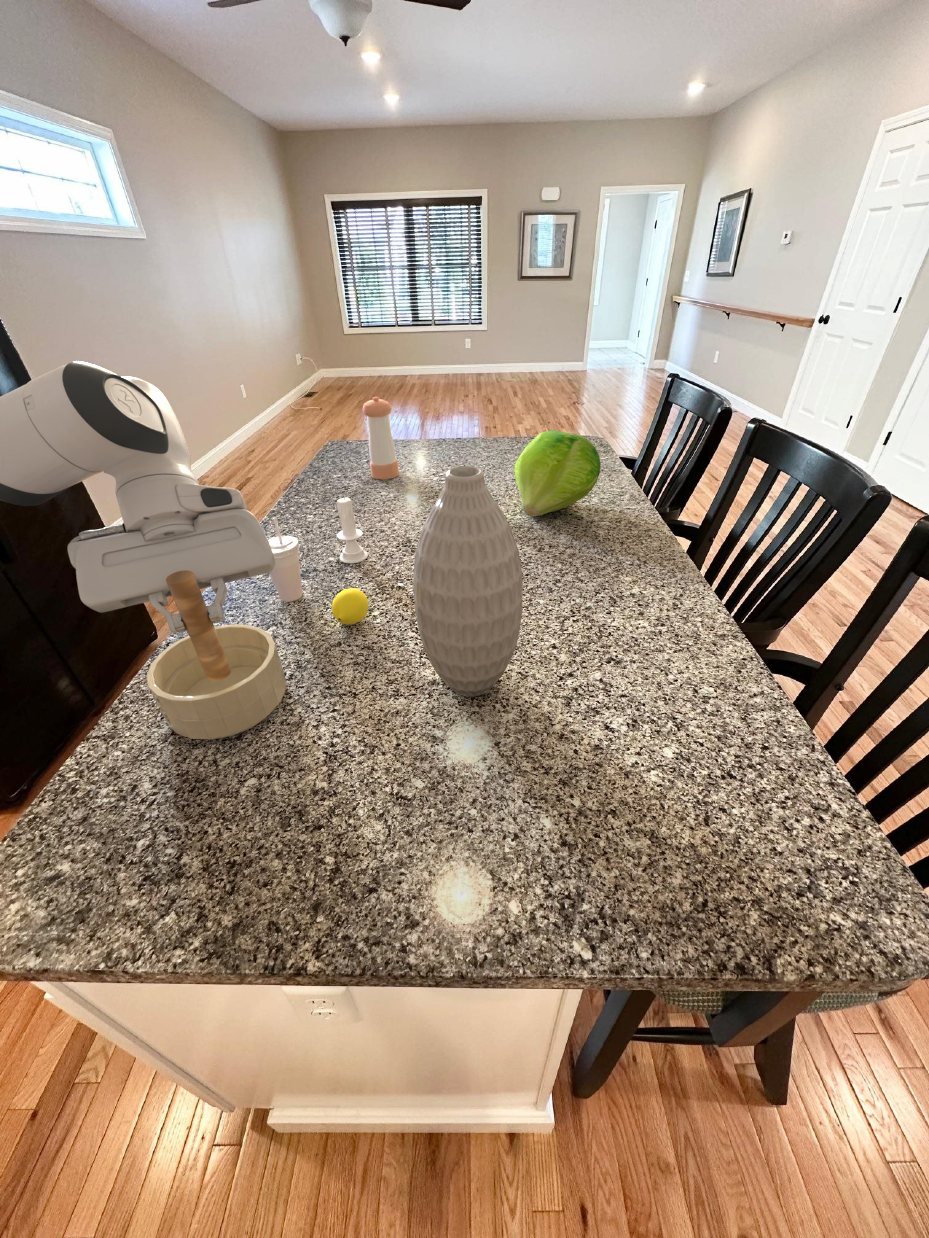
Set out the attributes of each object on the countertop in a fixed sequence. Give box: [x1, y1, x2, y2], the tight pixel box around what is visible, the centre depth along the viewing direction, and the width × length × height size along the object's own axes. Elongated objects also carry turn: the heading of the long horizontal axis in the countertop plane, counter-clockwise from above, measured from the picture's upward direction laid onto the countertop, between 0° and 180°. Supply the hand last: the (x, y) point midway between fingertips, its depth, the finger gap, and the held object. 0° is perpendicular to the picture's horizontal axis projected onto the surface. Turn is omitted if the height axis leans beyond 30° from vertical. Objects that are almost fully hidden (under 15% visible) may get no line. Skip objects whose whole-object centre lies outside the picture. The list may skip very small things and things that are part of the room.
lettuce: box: [514, 429, 602, 517], centre depth 110 cm, size 17×20×17 cm
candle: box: [336, 497, 369, 564], centre depth 94 cm, size 5×5×12 cm
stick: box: [166, 570, 231, 681], centre depth 60 cm, size 3×3×14 cm
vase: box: [412, 465, 524, 697], centre depth 60 cm, size 13×13×28 cm
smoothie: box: [267, 517, 303, 603], centre depth 83 cm, size 6×6×14 cm
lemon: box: [331, 587, 370, 626], centre depth 79 cm, size 7×5×5 cm
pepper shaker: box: [362, 396, 400, 480], centre depth 130 cm, size 7×7×19 cm
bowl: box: [146, 623, 287, 740], centre depth 64 cm, size 14×14×7 cm
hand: (199, 625), depth 59 cm, fingers closed on stick, 3 cm apart
